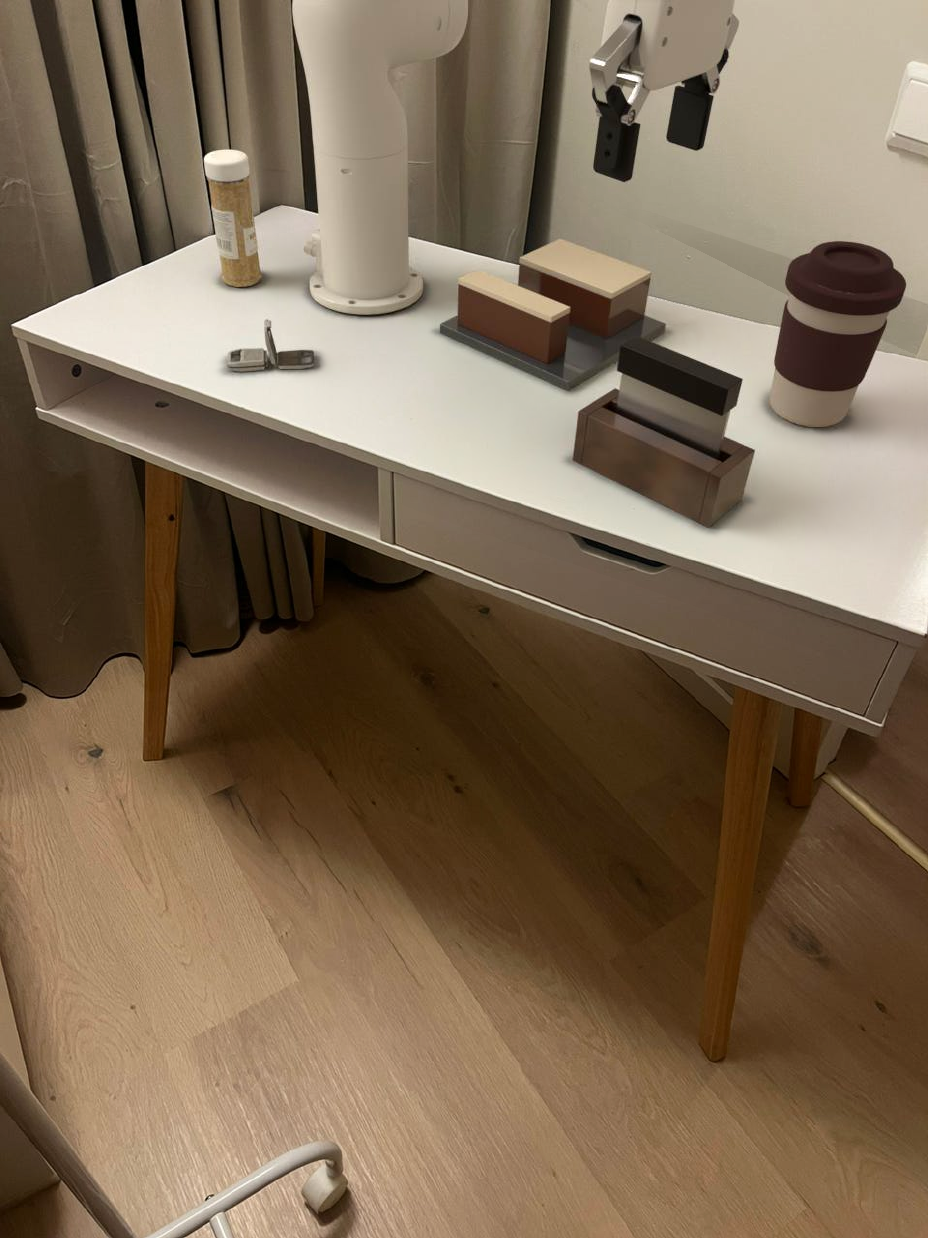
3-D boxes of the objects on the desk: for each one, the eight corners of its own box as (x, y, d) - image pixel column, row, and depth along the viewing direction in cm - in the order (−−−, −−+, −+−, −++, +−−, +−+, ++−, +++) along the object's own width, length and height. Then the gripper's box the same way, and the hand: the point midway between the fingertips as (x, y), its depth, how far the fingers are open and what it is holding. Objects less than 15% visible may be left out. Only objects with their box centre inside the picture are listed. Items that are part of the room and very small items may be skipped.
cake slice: (457, 324, 104) (458, 278, 100) (476, 314, 105) (477, 269, 102) (547, 364, 98) (551, 316, 95) (565, 353, 100) (570, 306, 96)
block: (572, 460, 88) (578, 410, 84) (607, 436, 91) (615, 387, 87) (708, 527, 81) (721, 477, 78) (742, 499, 84) (755, 449, 81)
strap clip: (227, 373, 97) (221, 332, 94) (228, 357, 99) (222, 317, 96) (315, 368, 98) (311, 328, 95) (314, 353, 100) (310, 314, 97)
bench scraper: (603, 462, 88) (620, 344, 80) (617, 452, 89) (635, 334, 81) (700, 510, 83) (728, 389, 75) (713, 498, 84) (743, 378, 76)
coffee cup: (782, 372, 100) (823, 223, 90) (876, 406, 96) (930, 254, 86) (735, 411, 95) (773, 256, 84) (833, 449, 90) (885, 292, 80)
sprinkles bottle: (269, 282, 112) (254, 157, 103) (231, 291, 110) (213, 165, 101) (251, 267, 115) (236, 144, 105) (214, 276, 113) (196, 151, 104)
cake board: (439, 332, 104) (440, 277, 100) (540, 282, 114) (544, 230, 110) (567, 391, 96) (574, 333, 92) (664, 332, 106) (674, 278, 102)
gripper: (716, -133, 71) (670, 122, 83) (568, -111, 61) (540, 174, 73) (810, -117, 67) (749, 147, 79) (669, -91, 58) (623, 204, 70)
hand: (649, 160), depth 76 cm, fingers open, 9 cm apart
